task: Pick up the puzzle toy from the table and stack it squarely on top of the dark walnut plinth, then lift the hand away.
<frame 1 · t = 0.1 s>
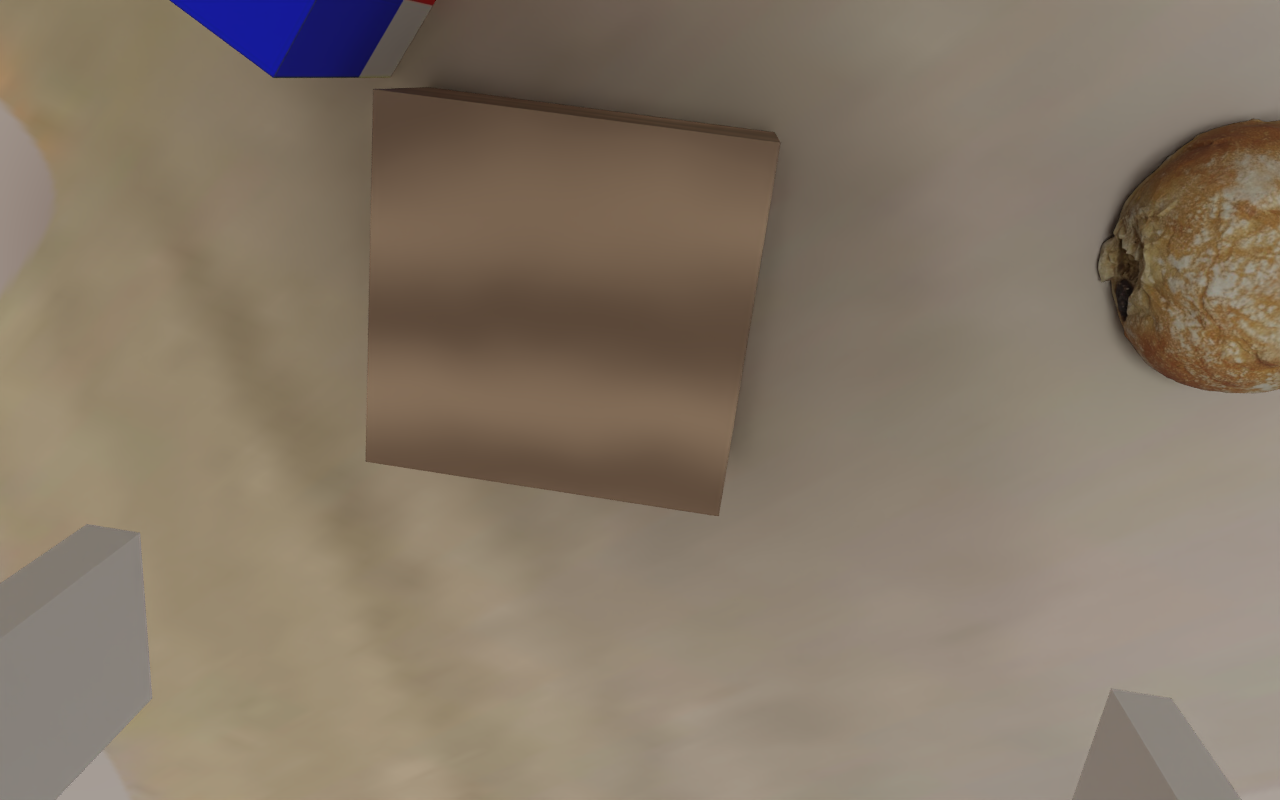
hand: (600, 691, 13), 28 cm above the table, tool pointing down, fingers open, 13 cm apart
walnut plinth: (582, 281, 39), on the table
bread roll: (1233, 244, 37), on the table
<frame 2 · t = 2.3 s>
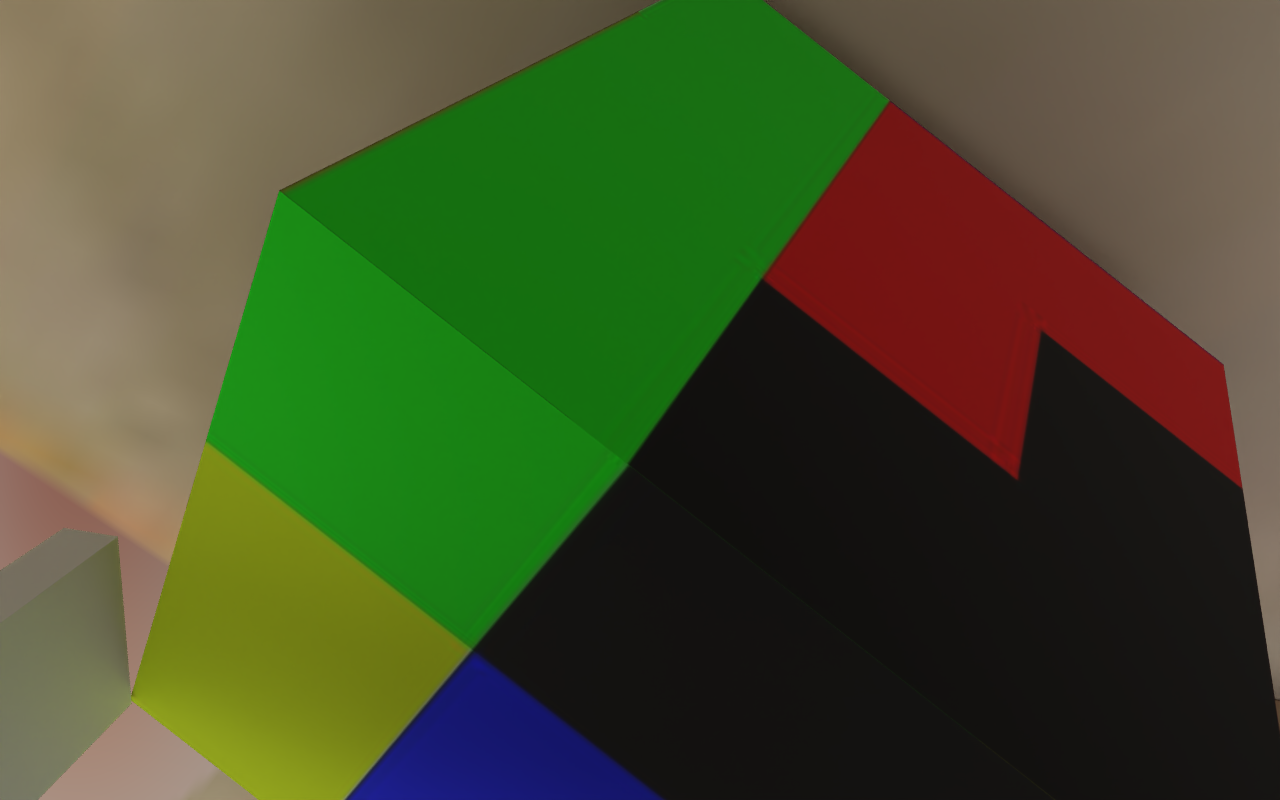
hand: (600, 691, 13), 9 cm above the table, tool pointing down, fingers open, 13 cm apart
puzzle toy: (792, 359, 18), point 2 cm above the table, touching gripper
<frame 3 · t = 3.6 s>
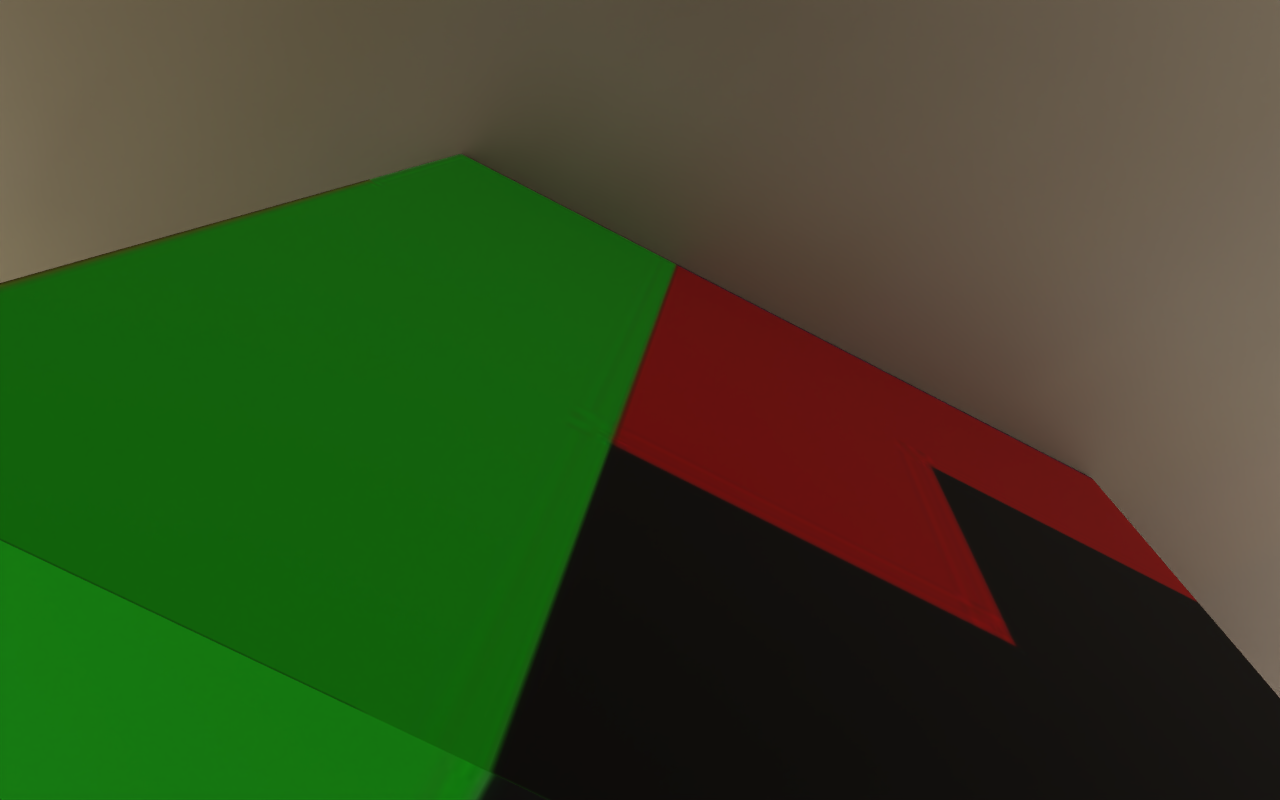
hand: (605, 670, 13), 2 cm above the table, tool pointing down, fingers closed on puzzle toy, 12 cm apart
puzzle toy: (629, 584, 15), on the table, touching gripper
when the fingers open (9 cm above the table, at t = 8.9 s): puzzle toy drops 1 cm, resting on walnut plinth.
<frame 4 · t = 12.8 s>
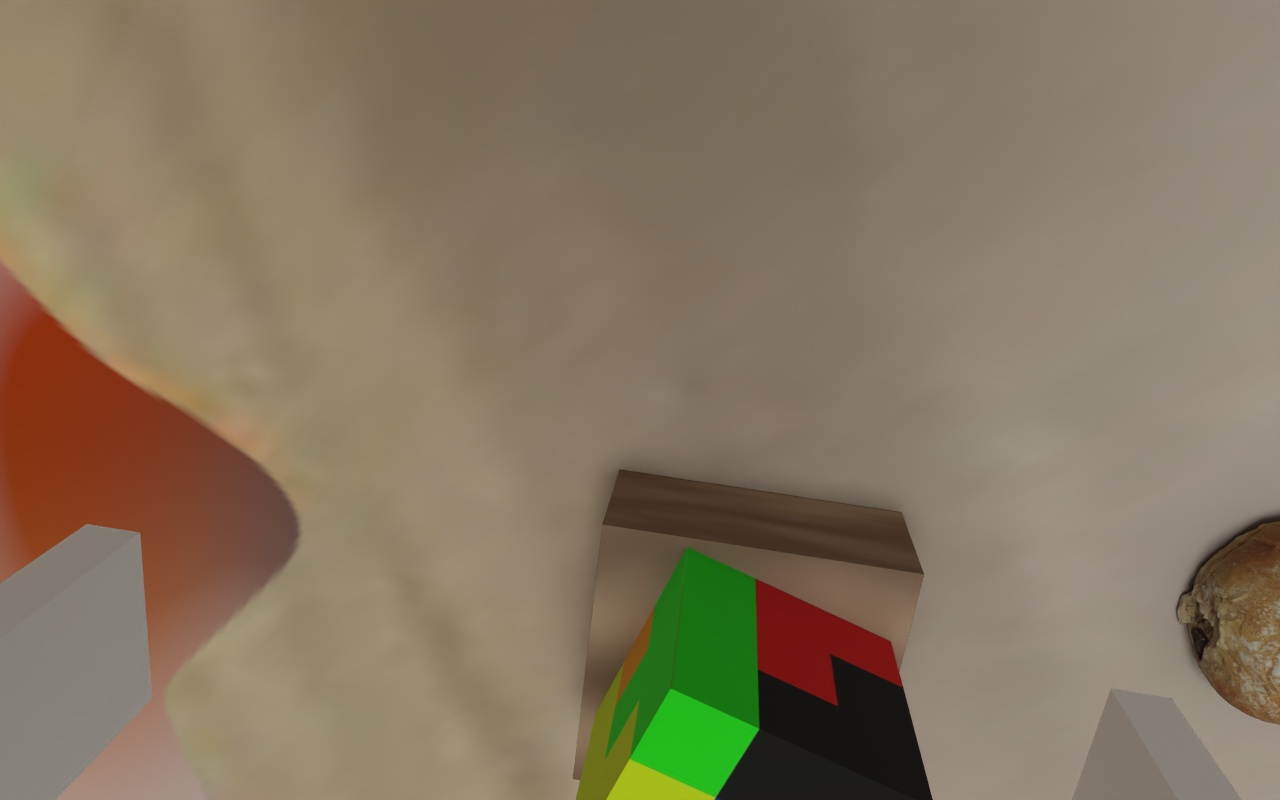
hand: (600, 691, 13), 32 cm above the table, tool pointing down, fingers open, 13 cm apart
puzzle toy: (738, 675, 43), point 6 cm above the table, touching walnut plinth
walnut plinth: (737, 612, 48), on the table
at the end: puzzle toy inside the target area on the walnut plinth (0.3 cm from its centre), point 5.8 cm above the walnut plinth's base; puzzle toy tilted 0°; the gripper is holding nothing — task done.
